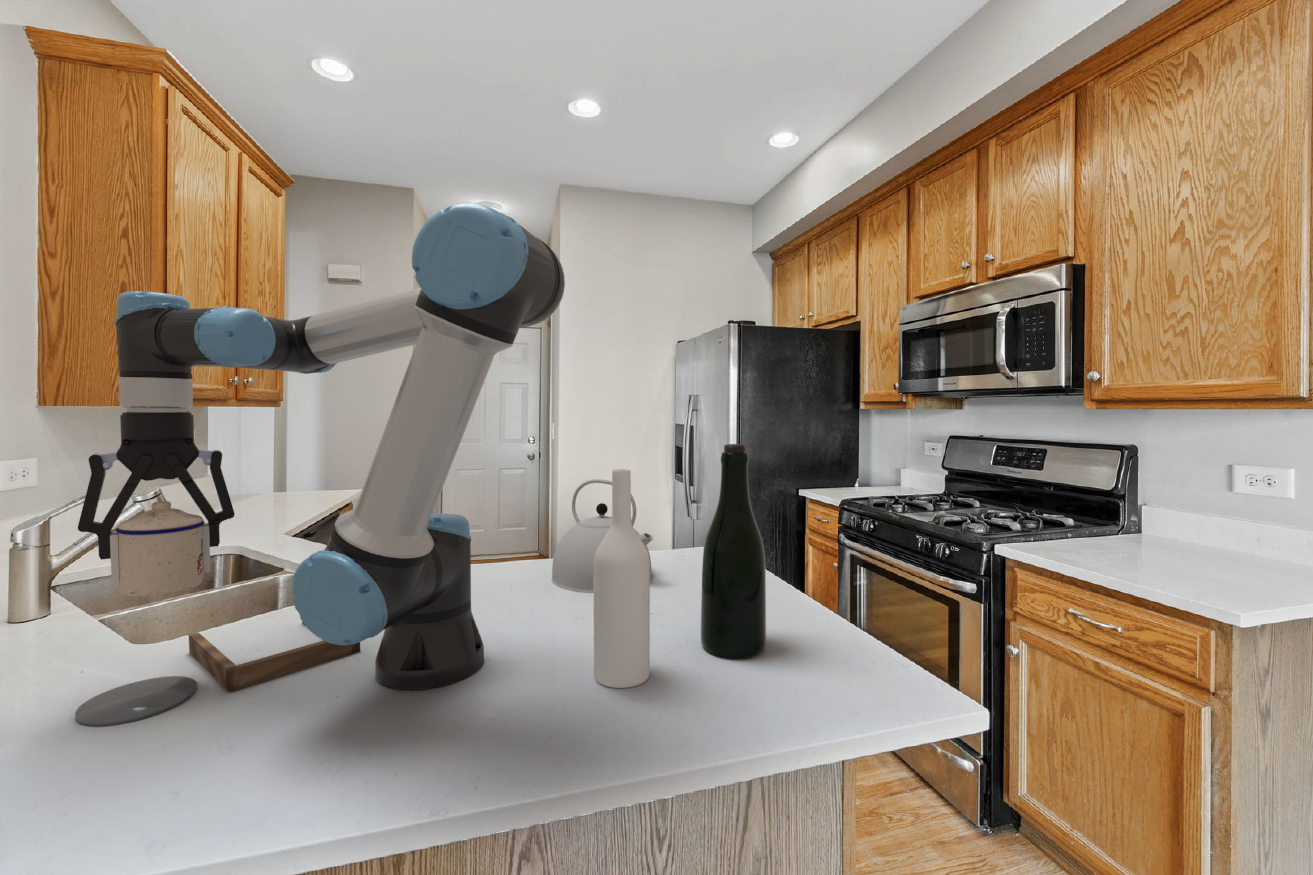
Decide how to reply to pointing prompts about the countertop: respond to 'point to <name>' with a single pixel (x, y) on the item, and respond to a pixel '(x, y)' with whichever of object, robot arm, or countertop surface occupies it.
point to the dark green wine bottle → (733, 568)
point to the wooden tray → (263, 661)
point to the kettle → (585, 547)
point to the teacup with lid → (160, 552)
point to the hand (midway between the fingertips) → (163, 575)
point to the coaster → (136, 701)
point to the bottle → (621, 596)
